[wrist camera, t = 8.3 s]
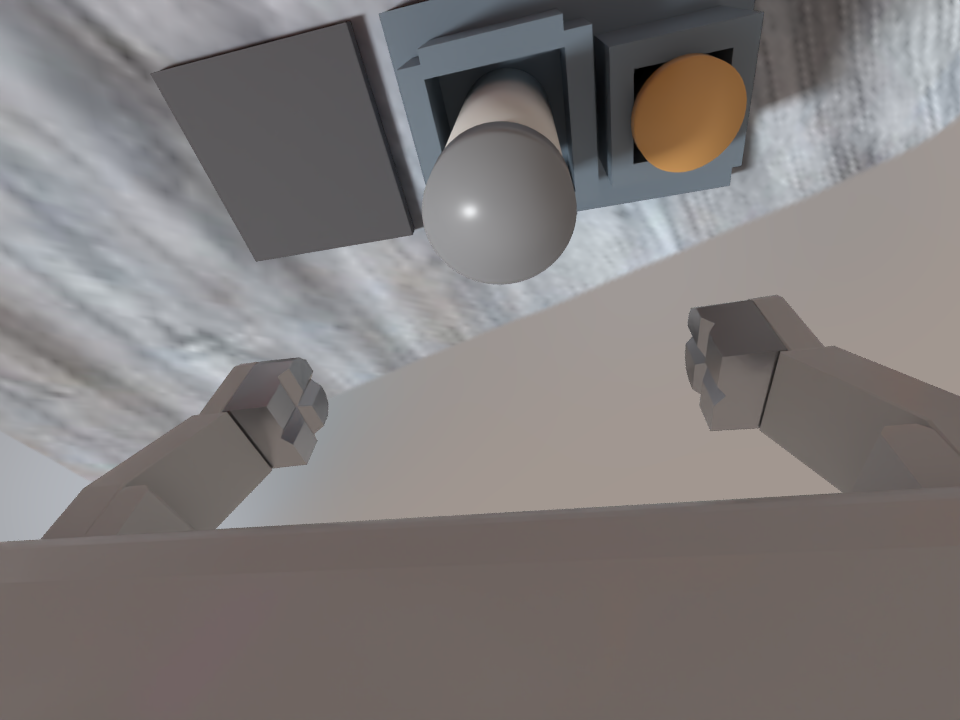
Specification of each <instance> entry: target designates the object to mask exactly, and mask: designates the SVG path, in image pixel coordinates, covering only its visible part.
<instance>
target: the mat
mask: <svg viewBox="0 0 960 720" xmlns="http://www.w3.org/2000/svg"><path fill="white" fill-rule="evenodd" d="M151 76H152V77H153V79H154V81H155V83H156V84H157V86H158V88H159V90H160V92H161V93H162V95H163V97H164V99H165V100H166V102H167V104H168V106H169V108H170V109H171V111H172V113H173V115H174V116H175V118H176V120H177V122H178V124H179V125H180V127H181V129H182V131H183V132H184V134H185V136H186V138H187V140H188V141H189V143H190V145H191V147H192V148H193V150H194V152H195V154H196V156H197V157H198V159H199V161H200V163H201V165H202V166H203V168H204V170H205V172H206V173H207V175H208V177H209V179H210V181H211V182H212V184H213V186H214V188H215V189H216V191H217V193H218V195H219V197H220V198H221V200H222V202H223V204H224V205H225V207H226V209H227V211H228V213H229V214H230V216H231V218H232V220H233V221H234V223H235V225H236V227H237V229H238V230H239V232H240V234H241V236H242V237H243V239H244V241H245V243H246V245H247V246H248V248H249V250H250V252H251V253H252V255H253V257H254V259H255V261H256V262H257V261H263V260H269V259H274V258H280V257H286V256H292V255H298V254H304V253H310V252H315V251H321V250H327V249H333V248H339V247H345V246H351V245H357V244H362V243H368V242H374V241H380V240H386V239H392V238H398V237H403V236H409V235H413V233H414V227H413V223H412V220H411V217H410V214H409V210H408V207H407V204H406V201H405V197H404V194H403V191H402V188H401V184H400V181H399V178H398V175H397V171H396V168H395V165H394V162H393V158H392V155H391V152H390V149H389V146H388V142H387V139H386V136H385V133H384V129H383V126H382V123H381V120H380V116H379V113H378V110H377V107H376V103H375V100H374V97H373V94H372V90H371V87H370V84H369V81H368V77H367V74H366V71H365V68H364V64H363V61H362V58H361V55H360V52H359V48H358V45H357V42H356V39H355V35H354V32H353V29H352V26H351V22H350V21H348V22H345V23H341V24H337V25H333V26H329V27H326V28H322V29H318V30H314V31H310V32H307V33H303V34H299V35H295V36H291V37H288V38H284V39H280V40H276V41H272V42H268V43H265V44H261V45H257V46H253V47H249V48H246V49H242V50H238V51H234V52H230V53H227V54H223V55H219V56H215V57H211V58H208V59H204V60H200V61H196V62H192V63H189V64H185V65H181V66H177V67H173V68H169V69H166V70H162V71H158V72H154V73H151Z"/></svg>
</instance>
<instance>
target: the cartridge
mask: <svg viewBox="0 0 960 720" xmlns="http://www.w3.org/2000/svg"><path fill="white" fill-rule="evenodd" d="M576 215H577V203H576V196H575V191H574V188H573V184H572V180H571V176H570V173H569V169H568V167H567V164H566V162H565V160H564V158H563V156H562V152H561V148H560V144H559V140H558V136H557V132H556V128H555V124H554V120H553V116H552V112H551V108H550V104H549V100H548V97H547V95H546V93H545V91H544V89H543V87H542V86H541V85H540V83H539V82H538V81H537V80H536V79H535V78H534V77H532V76H531V75H529V74H528V73H526V72H524V71H521V70H518V69H513V68H501V69H497V70H493V71H491V72H489V73H487V74H485V75H484V76H482V77H481V78H480V79H479V80H478V81H476V83H475V84H474V85H473V86H472V88H471V89H470V91H469V92H468V94H467V96H466V99H465V101H464V103H463V106H462V108H461V111H460V113H459V115H458V118H457V120H456V123H455V125H454V127H453V130H452V132H451V134H450V137H449V139H448V142H447V144H446V146H445V148H444V150H443V151H442V153H441V154H440V156H439V157H438V159H437V161H436V163H435V165H434V167H433V170H432V172H431V174H430V177H429V179H428V181H427V184H426V187H425V190H424V195H423V200H422V218H423V224H424V229H425V232H426V235H427V237H428V240H429V242H430V244H431V246H432V247H433V249H434V250H435V252H436V253H437V255H438V256H439V257H440V258H441V259H442V260H443V261H444V262H445V263H446V264H447V265H448V266H449V267H450V268H452V269H453V270H454V271H456V272H457V273H459V274H461V275H463V276H465V277H467V278H469V279H472V280H474V281H478V282H482V283H487V284H501V285H502V284H512V283H517V282H521V281H524V280H527V279H530V278H532V277H534V276H536V275H538V274H539V273H541V272H543V271H544V270H546V269H547V268H548V267H549V266H551V265H552V264H553V263H554V262H555V261H556V260H557V259H558V258H559V257H560V255H561V254H562V253H563V251H564V250H565V248H566V246H567V245H568V243H569V241H570V239H571V236H572V234H573V230H574V227H575V223H576Z"/></svg>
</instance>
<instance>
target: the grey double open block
mask: <svg viewBox="0 0 960 720" xmlns="http://www.w3.org/2000/svg"><path fill="white" fill-rule="evenodd" d="M754 3H755V0H428V1H425V2H421V3H417V4H413V5H409V6H406V7H402V8H398V9H394V10H390V11H386V12H383V13H379V17H380V20H381V24H382V28H383V31H384V35H385V39H386V42H387V46H388V49H389V53H390V57H391V60H392V64H393V68H394V71H395V75H396V79H397V82H398V86H399V90H400V93H401V97H402V100H403V104H404V108H405V111H406V115H407V119H408V122H409V126H410V130H411V133H412V137H413V140H414V144H415V148H416V151H417V155H418V159H419V162H420V166H421V170H422V173H423V177H424V181H425V184H427V181H428V179H429V177H430V174H431V172H432V170H433V167H434V165H435V163H436V161H437V159H438V157H439V156H440V154H441V153H442V151H443V150H444V148H445V146H446V144H447V142H448V139H449V137H450V134H451V132H452V130H453V127H454V125H455V123H456V120H457V118H458V115H459V113H460V111H461V108H462V106H463V103H464V101H465V99H466V96H467V94H468V92H469V91H470V89H471V88H472V86H473V85H474V84H475V83H476V81H478V80H479V79H480V78H481V77H482V76H484V75H485V74H487V73H489V72H491V71H493V70H497V69H501V68H513V69H518V70H521V71H524V72H526V73H528V74H529V75H531V76H532V77H534V78H535V79H536V80H537V81H538V82H539V83H540V85H541V86H542V87H543V89H544V91H545V93H546V95H547V97H548V100H549V104H550V108H551V112H552V116H553V120H554V124H555V128H556V132H557V136H558V140H559V144H560V148H561V152H562V156H563V158H564V160H565V162H566V164H567V167H568V169H569V173H570V176H571V180H572V184H573V188H574V191H575V196H576V203H577V211H582V210H588V209H594V208H600V207H606V206H612V205H618V204H624V203H630V202H636V201H642V200H647V199H653V198H659V197H665V196H671V195H677V194H683V193H689V192H695V191H701V190H707V189H713V188H719V187H724V186H730V180H731V172H732V167H737V166H741V165H742V158H743V151H744V144H745V138H746V131H747V124H748V117H749V111H750V104H751V97H752V90H753V84H754V77H755V70H756V63H757V57H758V50H759V43H760V36H761V30H762V23H763V16H764V12H761V11H755V10H754ZM692 53H702V54H708V55H711V56H714V57H716V58H718V59H721V60H723V61H725V62H727V63H729V64H730V65H731V66H733V67H734V68H735V69H736V70H737V72H738V73H739V74H740V76H741V78H742V79H743V82H744V85H745V89H746V95H747V104H746V111H745V116H744V119H743V122H742V125H741V127H740V129H739V131H738V133H737V135H736V136H735V138H734V139H733V141H732V142H731V143H730V145H729V146H728V147H727V148H726V149H725V150H724V151H723V152H722V153H721V154H720V155H719V156H718V157H716V158H715V159H714V160H712V161H711V162H709V163H708V164H706V165H704V166H702V167H700V168H697V169H694V170H691V171H687V172H668V171H664V170H661V169H659V168H657V167H655V166H653V165H652V164H651V163H649V162H648V161H647V160H646V158H645V157H644V156H643V154H642V153H641V151H640V150H639V149H638V147H637V145H636V143H635V141H634V139H633V136H632V131H631V114H632V109H633V106H634V74H635V72H636V71H637V70H638V69H639V68H641V67H646V66H651V65H655V64H660V63H664V62H668V61H670V60H672V59H674V58H676V57H679V56H682V55H685V54H692Z"/></svg>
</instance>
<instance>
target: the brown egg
mask: <svg viewBox="0 0 960 720" xmlns="http://www.w3.org/2000/svg"><path fill="white" fill-rule="evenodd" d="M746 104H747V95H746V89H745V85H744V82H743V79H742V78H741V76H740V74H739V73H738V72H737V70H736V69H735V68H734V67H733V66H731V65H730V64H729V63H727V62H725V61H723V60H721V59H718V58H716V57H714V56H711V55H708V54H702V53H692V54H685V55H682V56H679V57H676V58H674V59H672V60H670V61H668V62H664V63H660V64H655V65H651V66H646V67H641V68H639V69H638V70H637V71H636V72H635V74H634V106H633V109H632V114H631V131H632V136H633V139H634V141H635V143H636V145H637V147H638V149H639V150H640V151H641V153H642V154H643V156H644V157H645V158H646V160H647V161H648V162H649V163H651V164H652V165H653V166H655V167H657V168H659V169H661V170H664V171H668V172H687V171H691V170H694V169H697V168H700V167H702V166H704V165H706V164H708V163H709V162H711V161H712V160H714V159H715V158H716V157H718V156H719V155H720V154H721V153H722V152H723V151H724V150H725V149H726V148H727V147H728V146H729V145H730V143H731V142H732V141H733V139H734V138H735V136H736V135H737V133H738V131H739V129H740V127H741V125H742V122H743V119H744V116H745V111H746Z"/></svg>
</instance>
